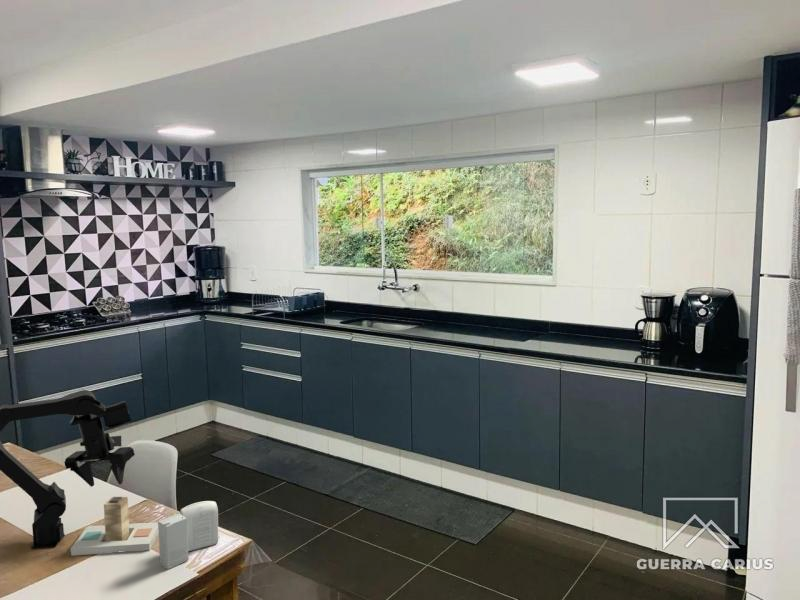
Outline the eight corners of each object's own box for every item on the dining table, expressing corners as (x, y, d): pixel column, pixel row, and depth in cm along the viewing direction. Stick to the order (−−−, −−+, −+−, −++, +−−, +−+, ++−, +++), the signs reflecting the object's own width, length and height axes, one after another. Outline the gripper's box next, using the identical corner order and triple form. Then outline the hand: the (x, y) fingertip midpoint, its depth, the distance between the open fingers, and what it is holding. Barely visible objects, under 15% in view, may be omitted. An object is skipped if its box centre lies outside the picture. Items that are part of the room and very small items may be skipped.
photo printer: (216, 537, 169) (214, 495, 168) (220, 543, 166) (219, 501, 164) (178, 547, 164) (176, 504, 162) (182, 554, 160) (180, 510, 159)
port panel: (71, 555, 159) (70, 547, 159) (87, 532, 171) (87, 525, 171) (149, 550, 162) (149, 542, 162) (160, 528, 174) (160, 521, 173)
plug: (106, 546, 164) (103, 502, 162) (113, 537, 168) (111, 495, 167) (122, 545, 164) (120, 502, 163) (129, 537, 169) (127, 495, 167)
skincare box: (180, 554, 160) (179, 512, 158) (189, 560, 157) (188, 517, 156) (158, 564, 155) (156, 520, 154) (167, 571, 152) (165, 526, 151)
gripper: (139, 420, 174) (151, 469, 177) (83, 425, 178) (96, 473, 181) (115, 436, 164) (129, 488, 166) (56, 441, 167) (71, 492, 170)
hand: (106, 484), depth 171 cm, fingers open, 9 cm apart
